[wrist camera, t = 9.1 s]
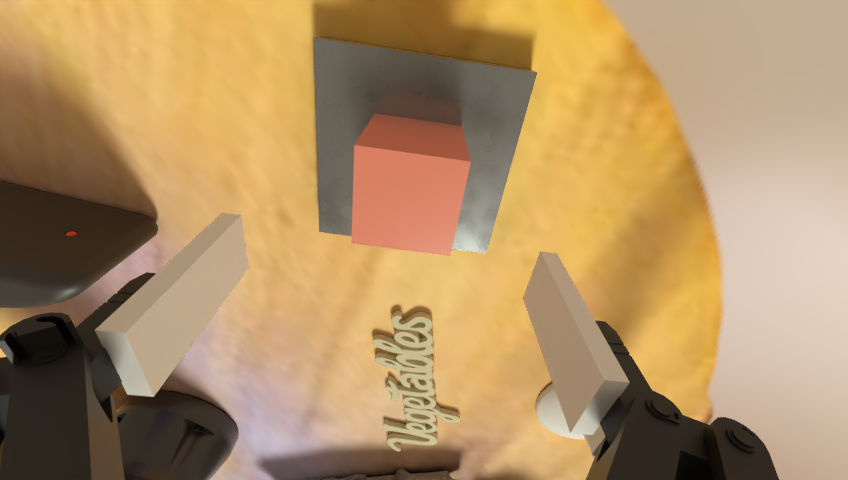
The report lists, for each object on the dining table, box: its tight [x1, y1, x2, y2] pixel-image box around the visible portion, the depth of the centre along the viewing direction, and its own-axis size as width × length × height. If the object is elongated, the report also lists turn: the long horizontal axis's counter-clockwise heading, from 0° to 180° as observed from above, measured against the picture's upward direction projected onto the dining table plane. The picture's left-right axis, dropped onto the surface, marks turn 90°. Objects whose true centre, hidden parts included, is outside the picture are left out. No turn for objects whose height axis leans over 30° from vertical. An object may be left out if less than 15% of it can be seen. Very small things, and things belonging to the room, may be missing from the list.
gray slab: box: [314, 37, 537, 253], centre depth 24 cm, size 14×14×6 cm
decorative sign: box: [372, 311, 460, 452], centre depth 42 cm, size 26×1×10 cm
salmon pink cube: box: [352, 113, 471, 256], centre depth 22 cm, size 6×6×7 cm
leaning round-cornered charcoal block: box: [0, 182, 158, 308], centre depth 26 cm, size 16×5×9 cm, turn 75°
